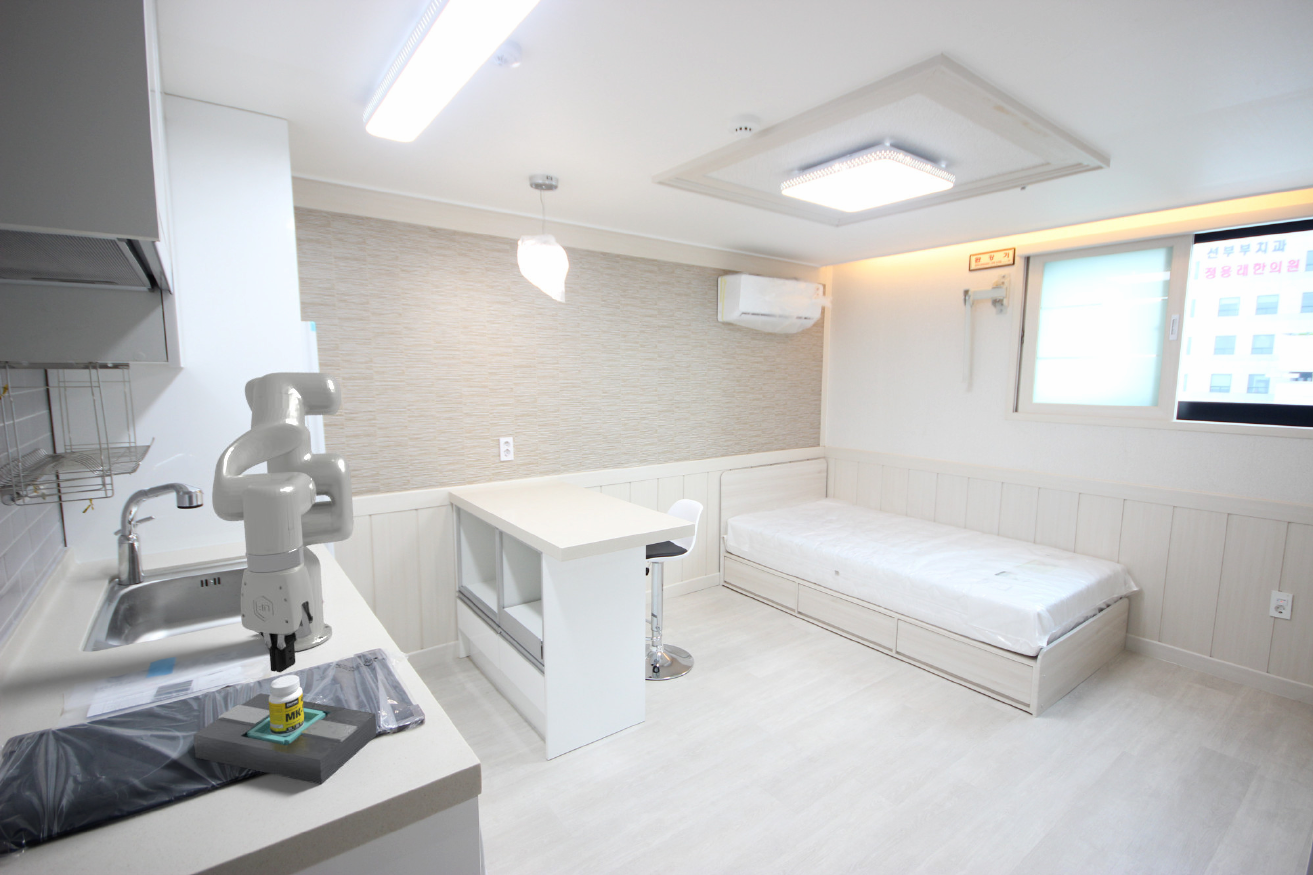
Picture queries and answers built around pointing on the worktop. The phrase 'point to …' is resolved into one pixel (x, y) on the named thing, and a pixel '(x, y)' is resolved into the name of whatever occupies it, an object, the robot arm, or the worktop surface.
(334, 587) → the worktop surface
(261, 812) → the worktop surface
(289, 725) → the supplement bottle
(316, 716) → the tray
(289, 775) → the block
